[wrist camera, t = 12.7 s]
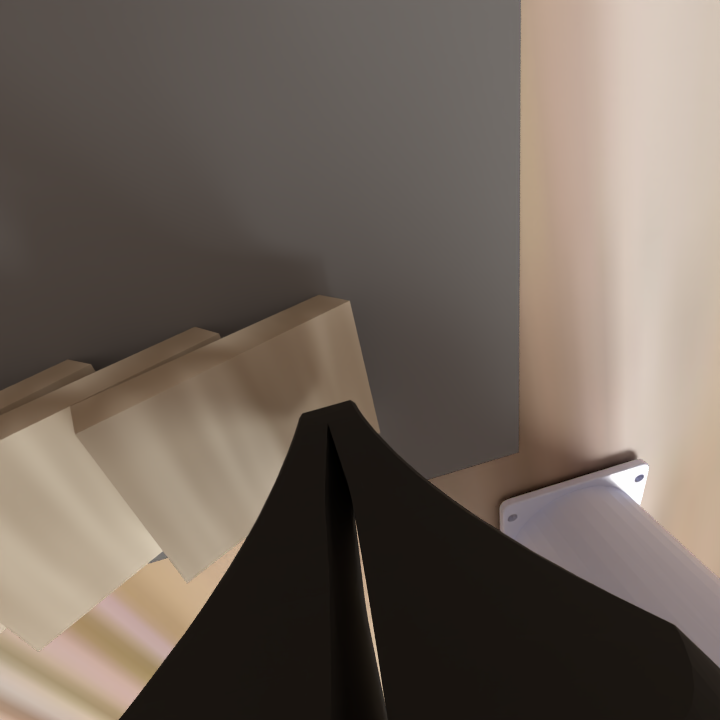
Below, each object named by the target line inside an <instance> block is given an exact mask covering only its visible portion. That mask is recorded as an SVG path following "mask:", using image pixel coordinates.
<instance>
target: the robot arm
mask: <svg viewBox="0 0 720 720" xmlns="http://www.w3.org/2000/svg"><path fill="white" fill-rule="evenodd" d="M648 471H649V465H648V464H647V463H646V462H645V461H643V460H642V459H636V460H632V461H629V462H626V463H623V464H620V465H616V466H613V467H610V468H607V469H603V470H600V471H597V472H594V473H590V474H587V475H584V476H581V477H577V478H574V479H571V480H568V481H565V482H561V483H558V484H555V485H552V486H548V487H545V488H542V489H539V490H535V491H532V492H529V493H526V494H523V495H519V496H516V497H513V498H510V499H507V500H505V501H504V502H502V504H501V505H500V508H499V511H500V531H499V530H498V529H496V528H495V527H493V526H491V525H490V524H488V523H486V522H485V521H483V520H482V519H480V518H479V517H477V516H476V515H474V514H473V513H471V512H470V511H468V510H467V509H466V508H464V507H463V506H461V505H460V504H458V503H457V502H456V501H454V500H453V499H451V498H450V497H449V496H447V495H446V494H445V493H443V492H442V491H441V490H439V489H438V488H437V487H436V486H434V485H433V484H432V483H431V482H429V481H428V480H427V479H426V478H424V477H423V476H422V475H421V474H420V473H418V472H417V471H416V470H415V469H414V468H413V467H412V466H411V465H409V464H408V463H407V462H406V461H405V460H404V459H403V458H402V457H401V456H400V455H399V454H397V453H396V452H395V451H394V450H393V449H392V448H391V447H390V446H389V444H388V443H387V442H386V441H385V440H384V439H383V438H382V437H381V436H380V435H379V434H378V433H377V432H376V431H375V430H374V428H373V427H372V426H371V425H370V424H369V422H368V421H367V420H366V419H365V417H364V416H363V415H362V413H361V412H360V410H359V409H358V407H357V405H356V403H355V402H353V401H351V400H348V401H345V402H341V403H337V404H334V405H330V406H327V407H323V408H320V409H316V410H312V411H309V412H305V413H302V415H301V416H300V418H299V420H298V424H297V427H296V430H295V433H294V436H293V439H292V442H291V444H290V447H289V450H288V452H287V455H286V457H285V460H284V462H283V465H282V467H281V469H280V472H279V474H278V477H277V479H276V481H275V483H274V485H273V487H272V489H271V492H270V494H269V496H268V498H267V500H266V502H265V504H264V506H263V508H262V510H261V512H260V514H259V516H258V518H257V520H256V522H255V523H254V525H253V527H252V529H251V531H250V533H249V534H248V536H247V538H246V540H245V542H244V543H243V545H242V547H241V548H240V550H239V552H238V553H237V555H236V557H235V558H234V560H233V562H232V563H231V565H230V567H229V568H228V570H227V571H226V573H225V574H224V576H223V577H222V579H221V581H220V582H219V584H218V585H217V587H216V588H215V590H214V591H213V593H212V594H211V596H210V597H209V599H208V601H207V602H206V604H205V605H204V607H203V608H202V609H201V611H200V612H199V614H198V615H197V617H196V618H195V620H194V621H193V622H192V624H191V625H190V627H189V628H188V630H187V631H186V632H185V634H184V635H183V636H182V638H181V639H180V640H179V642H178V643H177V644H176V646H175V647H174V648H173V650H172V651H171V652H170V654H169V655H168V656H167V658H166V659H165V660H164V662H163V663H162V664H161V666H160V667H159V668H158V670H157V671H156V672H155V674H154V675H153V676H152V678H151V679H150V680H149V682H148V683H147V684H146V686H145V687H144V688H143V690H142V691H141V692H140V694H139V695H138V696H137V697H136V699H135V700H134V701H133V703H132V704H131V705H130V706H129V708H128V709H127V710H126V712H125V713H124V714H123V715H122V716H121V718H120V719H119V720H720V578H719V577H718V576H716V575H715V574H714V573H713V572H712V571H711V570H710V569H709V568H708V567H707V566H705V565H704V564H703V563H702V562H701V561H700V560H699V559H698V558H697V557H696V556H695V555H693V554H692V553H691V552H690V551H689V550H688V549H687V548H686V547H685V546H684V545H682V544H681V543H680V542H679V541H678V540H677V539H676V538H675V537H674V536H673V535H672V534H670V533H669V532H668V531H667V530H666V529H665V528H664V527H663V526H662V525H661V524H659V523H658V522H657V521H656V520H655V519H654V518H653V517H652V516H651V515H650V514H649V513H647V512H646V511H645V510H644V509H643V508H642V507H641V506H640V504H641V500H642V496H643V492H644V487H645V483H646V479H647V475H648ZM355 520H356V522H355ZM356 526H357V531H358V537H359V543H360V548H361V554H362V560H363V566H364V572H365V578H366V584H367V590H368V596H369V602H370V608H371V615H372V621H373V627H374V633H375V640H376V646H377V652H378V659H379V666H380V672H381V679H382V686H383V691H382V687H381V682H380V677H379V672H378V667H377V662H376V657H375V652H374V647H373V643H372V638H371V633H370V628H369V623H368V617H367V611H366V604H365V598H364V589H363V581H362V573H361V564H360V556H359V547H358V539H357V531H356ZM383 692H384V696H383ZM384 699H385V701H384Z"/></svg>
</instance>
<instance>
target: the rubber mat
mask: <svg viewBox="0 0 720 720" xmlns="http://www.w3.org/2000/svg"><path fill="white" fill-rule="evenodd" d="M520 47H521V0H0V391H1V390H3V389H5V388H7V387H10V386H12V385H14V384H16V383H18V382H20V381H22V380H25V379H27V378H29V377H31V376H33V375H35V374H37V373H40V372H42V371H44V370H46V369H48V368H50V367H53V366H55V365H57V364H59V363H61V362H63V361H65V360H73V361H78V362H83V363H87V364H91V365H92V367H93V368H94V370H95V371H99V370H101V369H103V368H105V367H107V366H110V365H112V364H114V363H116V362H118V361H121V360H123V359H125V358H127V357H129V356H132V355H134V354H136V353H138V352H140V351H143V350H145V349H147V348H149V347H151V346H154V345H156V344H158V343H160V342H162V341H164V340H167V339H169V338H171V337H173V336H175V335H178V334H180V333H182V332H184V331H186V330H189V329H191V328H193V327H198V328H201V329H205V330H208V331H212V332H215V333H219V335H220V337H221V338H223V337H226V336H228V335H230V334H232V333H235V332H237V331H239V330H241V329H243V328H246V327H248V326H250V325H252V324H255V323H257V322H259V321H261V320H264V319H266V318H268V317H270V316H272V315H275V314H277V313H279V312H281V311H284V310H286V309H288V308H290V307H292V306H295V305H297V304H299V303H301V302H304V301H306V300H308V299H310V298H312V297H315V296H317V295H323V296H328V297H333V298H339V299H344V300H349V301H350V304H351V308H352V313H353V317H354V321H355V326H356V330H357V334H358V339H359V343H360V347H361V352H362V356H363V360H364V364H365V369H366V373H367V377H368V382H369V386H370V390H371V395H372V399H373V403H374V408H375V412H376V416H377V421H378V425H379V429H380V433H379V435H380V436H381V437H382V438H383V439H384V440H385V441H386V442H387V443H388V444H389V446H390V447H391V448H392V449H393V450H394V451H395V452H396V453H397V454H399V455H400V456H401V457H402V458H403V459H404V460H405V461H406V462H407V463H408V464H409V465H411V466H412V467H413V468H414V469H415V470H416V471H417V472H418V473H420V474H421V475H422V476H423V477H424V478H426V479H427V480H428V479H432V478H435V477H438V476H442V475H445V474H448V473H452V472H455V471H458V470H462V469H465V468H468V467H472V466H475V465H478V464H482V463H485V462H488V461H492V460H495V459H498V458H502V457H505V456H508V455H512V454H515V453H518V452H519V277H520ZM166 558H168V557H167V556H166V555H165V553H164V552H161V553H160V554H159V555H158V556H156V557H155V558H154V559H153V560H151V561H150V562H149V563H152V562H156V561H159V560H162V559H166ZM149 563H148V564H149Z"/></svg>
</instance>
